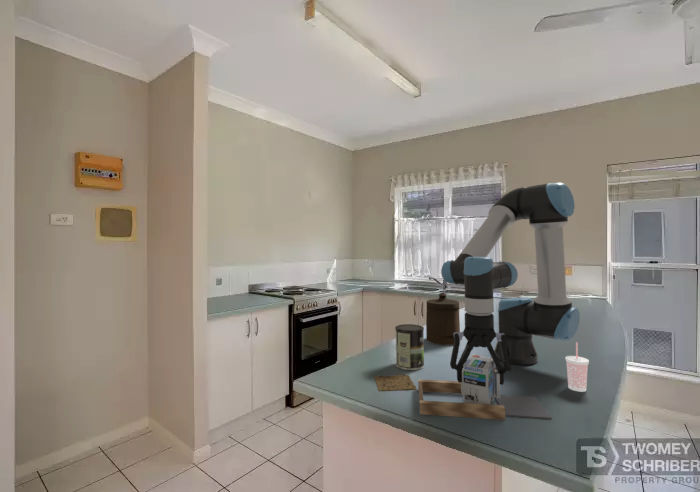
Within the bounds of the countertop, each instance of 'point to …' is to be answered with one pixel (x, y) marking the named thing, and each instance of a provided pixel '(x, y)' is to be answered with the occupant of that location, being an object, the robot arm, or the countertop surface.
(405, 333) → the coffee can
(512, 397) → the rubber mat
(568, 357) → the beverage cup
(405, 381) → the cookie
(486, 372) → the light bulb box
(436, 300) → the wooden container
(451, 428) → the countertop surface
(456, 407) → the oak open-sided frame
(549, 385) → the countertop surface
